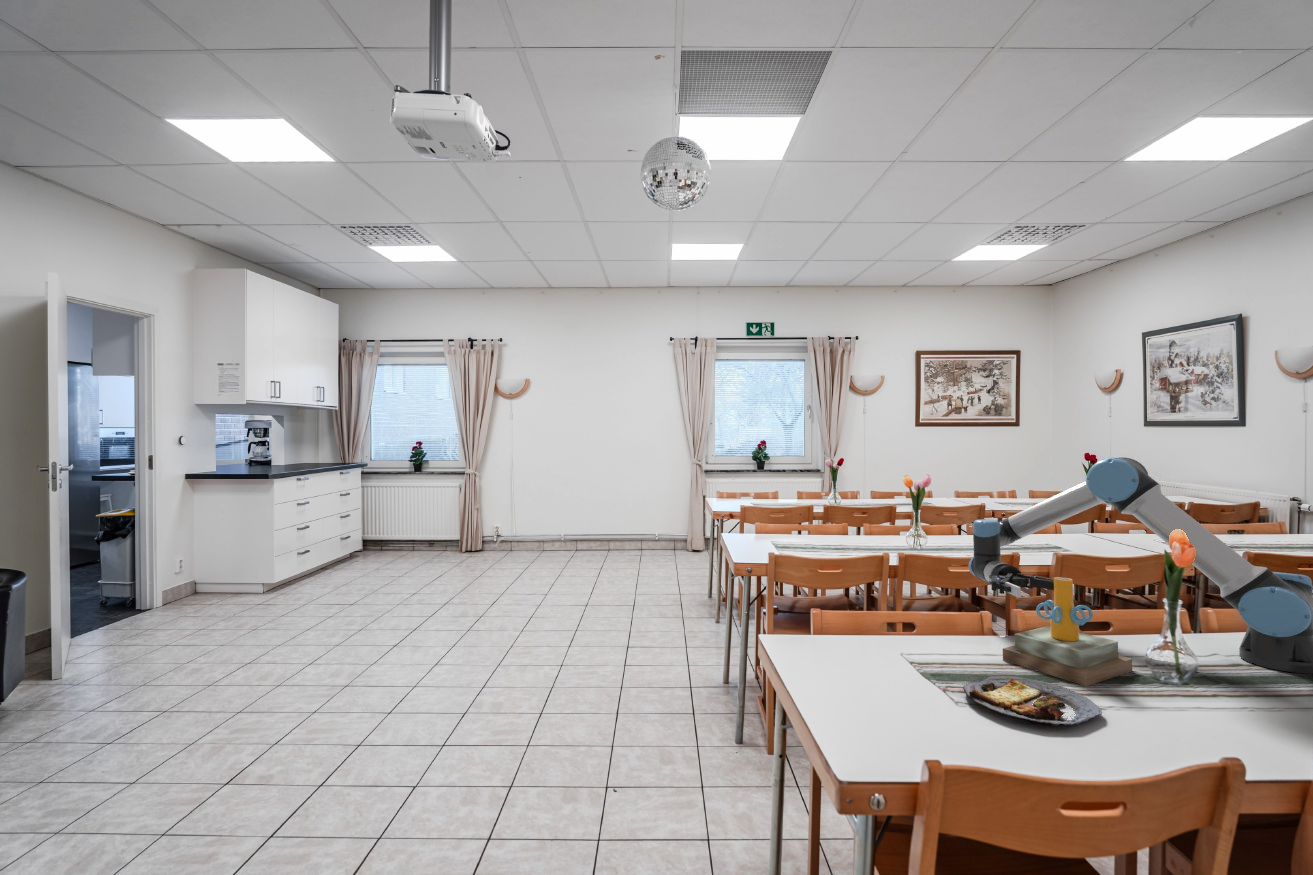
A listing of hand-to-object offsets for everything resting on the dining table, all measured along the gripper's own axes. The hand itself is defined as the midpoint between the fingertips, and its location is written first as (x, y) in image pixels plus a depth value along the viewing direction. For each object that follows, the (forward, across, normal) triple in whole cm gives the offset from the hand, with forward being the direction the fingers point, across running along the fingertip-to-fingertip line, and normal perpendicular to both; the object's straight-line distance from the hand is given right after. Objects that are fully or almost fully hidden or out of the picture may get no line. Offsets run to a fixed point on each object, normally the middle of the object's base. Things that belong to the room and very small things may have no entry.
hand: (1045, 592), depth 159 cm
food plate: (+32, +23, -17) cm, 43 cm away
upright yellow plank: (+8, 0, -10) cm, 13 cm away
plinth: (+8, 0, -17) cm, 18 cm away
